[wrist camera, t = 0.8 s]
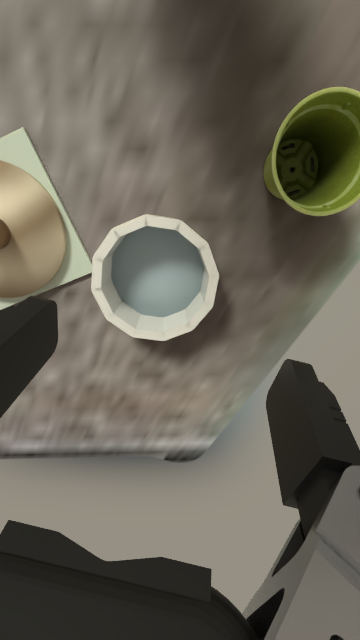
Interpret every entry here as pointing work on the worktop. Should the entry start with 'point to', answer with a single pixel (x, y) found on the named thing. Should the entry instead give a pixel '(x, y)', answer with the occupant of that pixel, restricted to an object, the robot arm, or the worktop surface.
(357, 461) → the robot arm
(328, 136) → the plant pot
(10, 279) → the lid
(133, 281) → the bowl
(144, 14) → the worktop surface
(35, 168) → the mat
